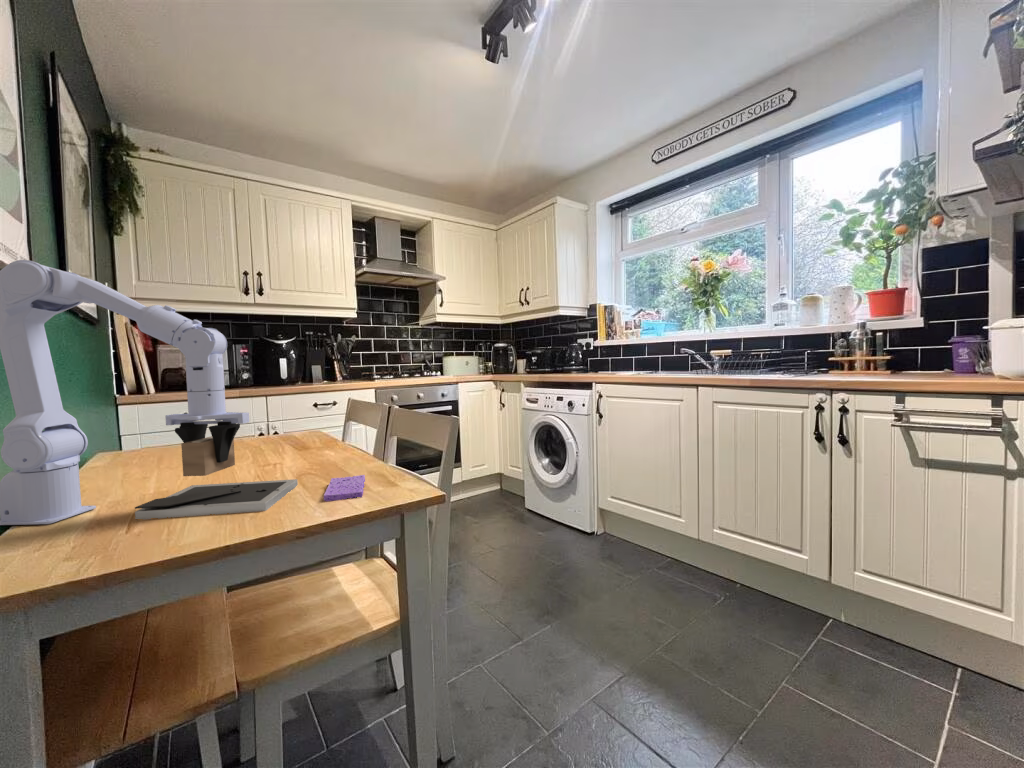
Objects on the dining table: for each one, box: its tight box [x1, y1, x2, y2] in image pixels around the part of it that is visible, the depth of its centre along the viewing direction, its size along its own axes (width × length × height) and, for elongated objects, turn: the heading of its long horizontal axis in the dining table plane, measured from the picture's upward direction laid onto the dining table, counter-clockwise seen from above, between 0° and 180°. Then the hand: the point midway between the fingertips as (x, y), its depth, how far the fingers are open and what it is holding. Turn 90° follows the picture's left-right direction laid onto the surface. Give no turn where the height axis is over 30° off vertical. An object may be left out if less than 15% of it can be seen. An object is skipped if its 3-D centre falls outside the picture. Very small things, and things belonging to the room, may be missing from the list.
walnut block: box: [180, 435, 236, 477], centre depth 78 cm, size 8×4×6 cm, turn 0°
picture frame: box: [134, 478, 298, 520], centre depth 79 cm, size 16×3×21 cm
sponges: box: [323, 474, 366, 502], centre depth 84 cm, size 7×13×2 cm, turn 18°
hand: (210, 461), depth 78 cm, fingers closed on walnut block, 4 cm apart
